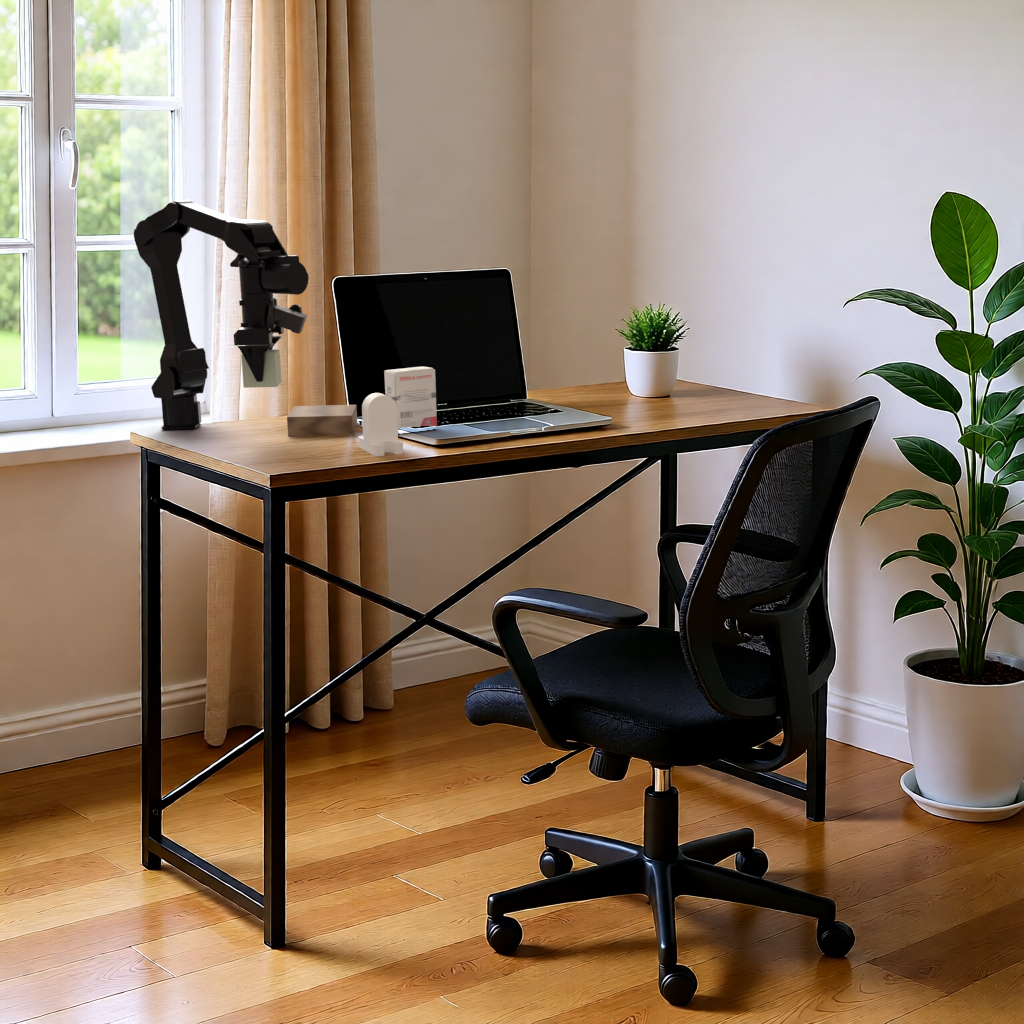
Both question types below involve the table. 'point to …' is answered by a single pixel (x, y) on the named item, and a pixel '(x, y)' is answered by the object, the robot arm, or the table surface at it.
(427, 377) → the ink box
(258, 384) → the sage cube
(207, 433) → the table surface
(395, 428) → the white rounded upright block
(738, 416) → the table surface
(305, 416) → the walnut block
